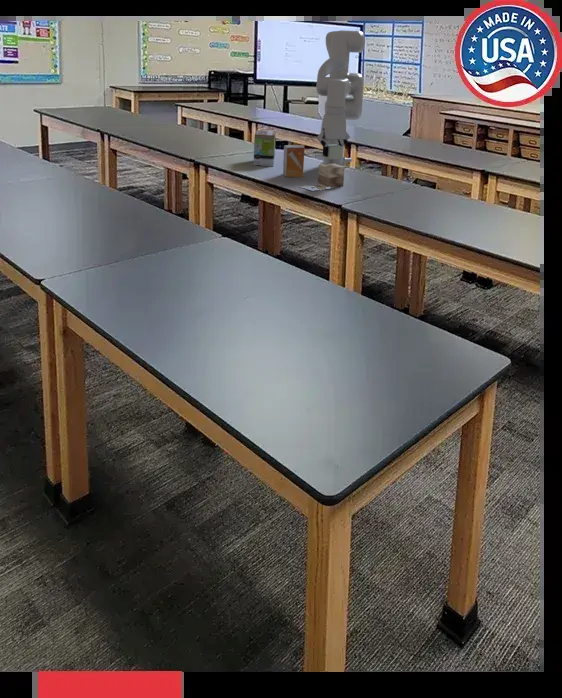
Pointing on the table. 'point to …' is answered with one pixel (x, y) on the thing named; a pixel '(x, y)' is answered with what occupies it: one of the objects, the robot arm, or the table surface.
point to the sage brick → (334, 151)
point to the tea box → (264, 148)
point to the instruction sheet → (317, 187)
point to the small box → (293, 161)
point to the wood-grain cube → (331, 175)
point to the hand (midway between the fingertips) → (332, 155)
